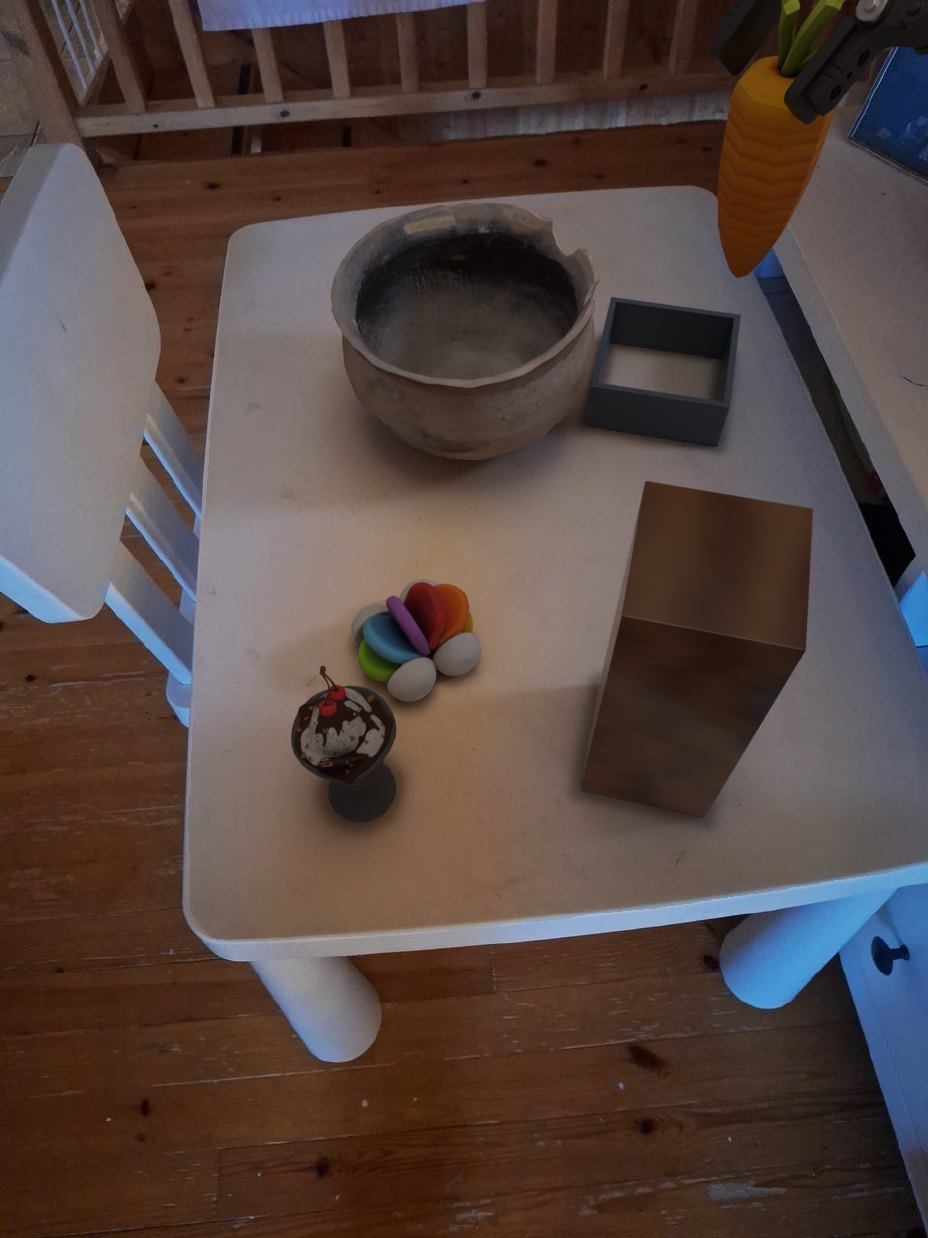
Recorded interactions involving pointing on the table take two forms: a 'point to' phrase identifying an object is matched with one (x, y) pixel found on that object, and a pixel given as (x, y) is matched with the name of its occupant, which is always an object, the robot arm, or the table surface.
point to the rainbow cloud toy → (416, 638)
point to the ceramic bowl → (466, 327)
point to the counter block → (697, 644)
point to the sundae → (348, 748)
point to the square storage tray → (659, 409)
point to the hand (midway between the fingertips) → (758, 86)
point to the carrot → (769, 144)
